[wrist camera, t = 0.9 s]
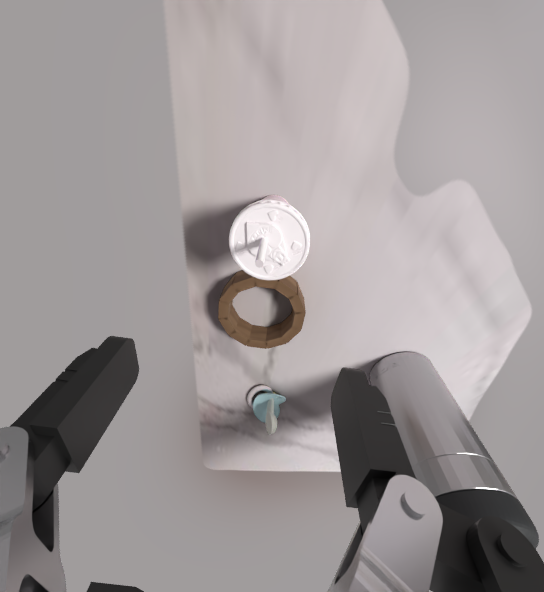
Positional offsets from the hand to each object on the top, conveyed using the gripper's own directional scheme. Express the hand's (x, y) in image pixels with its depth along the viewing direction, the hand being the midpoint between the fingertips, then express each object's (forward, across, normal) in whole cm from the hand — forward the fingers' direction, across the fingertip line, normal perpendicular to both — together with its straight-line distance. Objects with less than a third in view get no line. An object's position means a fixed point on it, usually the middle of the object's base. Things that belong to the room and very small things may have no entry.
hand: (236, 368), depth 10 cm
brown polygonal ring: (+22, 0, +11) cm, 25 cm away
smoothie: (+22, 0, -1) cm, 22 cm away
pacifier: (+23, -3, +30) cm, 38 cm away
